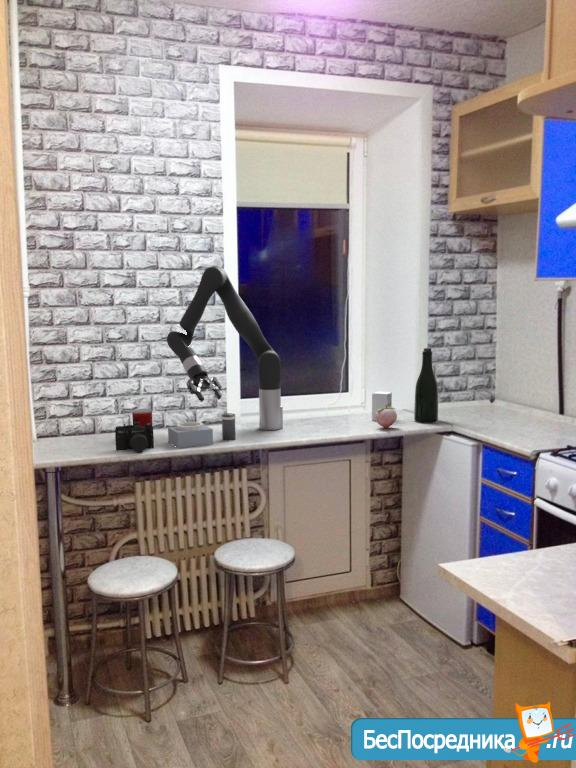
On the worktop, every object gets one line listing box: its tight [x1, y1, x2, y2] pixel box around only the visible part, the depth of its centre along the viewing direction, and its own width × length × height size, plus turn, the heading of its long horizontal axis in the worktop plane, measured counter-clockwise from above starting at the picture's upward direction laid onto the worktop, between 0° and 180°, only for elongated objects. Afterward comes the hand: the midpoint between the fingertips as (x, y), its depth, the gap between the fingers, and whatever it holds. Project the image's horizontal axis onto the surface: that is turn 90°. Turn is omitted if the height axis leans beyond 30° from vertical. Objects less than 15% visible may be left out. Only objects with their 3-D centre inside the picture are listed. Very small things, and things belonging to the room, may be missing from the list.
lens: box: [221, 412, 236, 441], centre depth 268 cm, size 5×5×10 cm
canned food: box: [131, 408, 154, 428], centre depth 273 cm, size 8×8×11 cm
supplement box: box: [371, 391, 393, 422], centre depth 307 cm, size 7×7×13 cm
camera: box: [114, 422, 155, 453], centre depth 249 cm, size 14×11×10 cm
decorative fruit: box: [375, 405, 398, 429], centre depth 288 cm, size 9×8×10 cm
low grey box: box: [167, 421, 214, 449], centre depth 261 cm, size 14×12×8 cm
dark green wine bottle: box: [413, 347, 439, 424], centre depth 301 cm, size 10×10×33 cm
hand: (211, 399), depth 275 cm, fingers open, 8 cm apart
